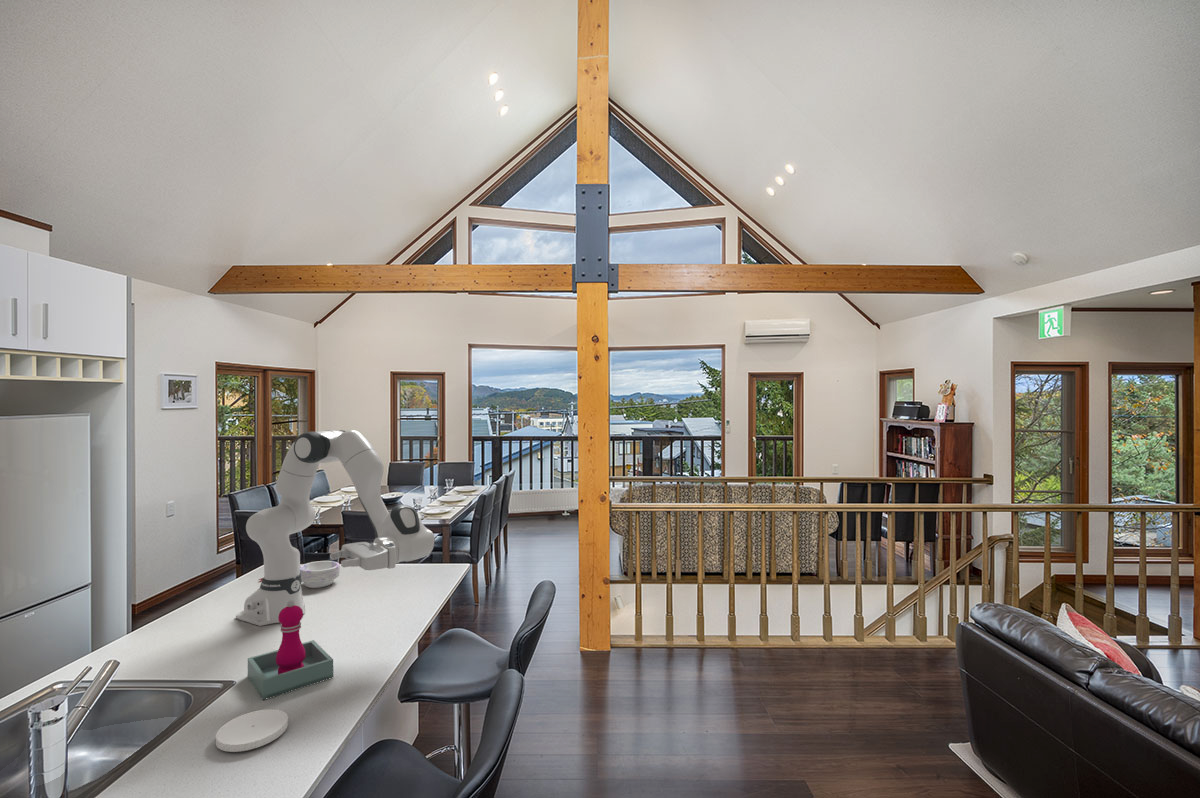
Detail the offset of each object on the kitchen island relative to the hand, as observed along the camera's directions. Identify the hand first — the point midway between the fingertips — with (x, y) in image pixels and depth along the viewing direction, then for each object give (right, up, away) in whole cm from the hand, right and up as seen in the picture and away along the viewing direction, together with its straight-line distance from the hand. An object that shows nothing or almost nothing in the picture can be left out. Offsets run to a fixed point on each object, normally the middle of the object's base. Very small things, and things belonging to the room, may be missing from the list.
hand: (336, 560), depth 164 cm
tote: (-9, -30, -8) cm, 32 cm away
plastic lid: (-3, -30, -35) cm, 47 cm away
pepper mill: (-9, -29, -8) cm, 31 cm away
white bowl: (-39, -30, +69) cm, 84 cm away
